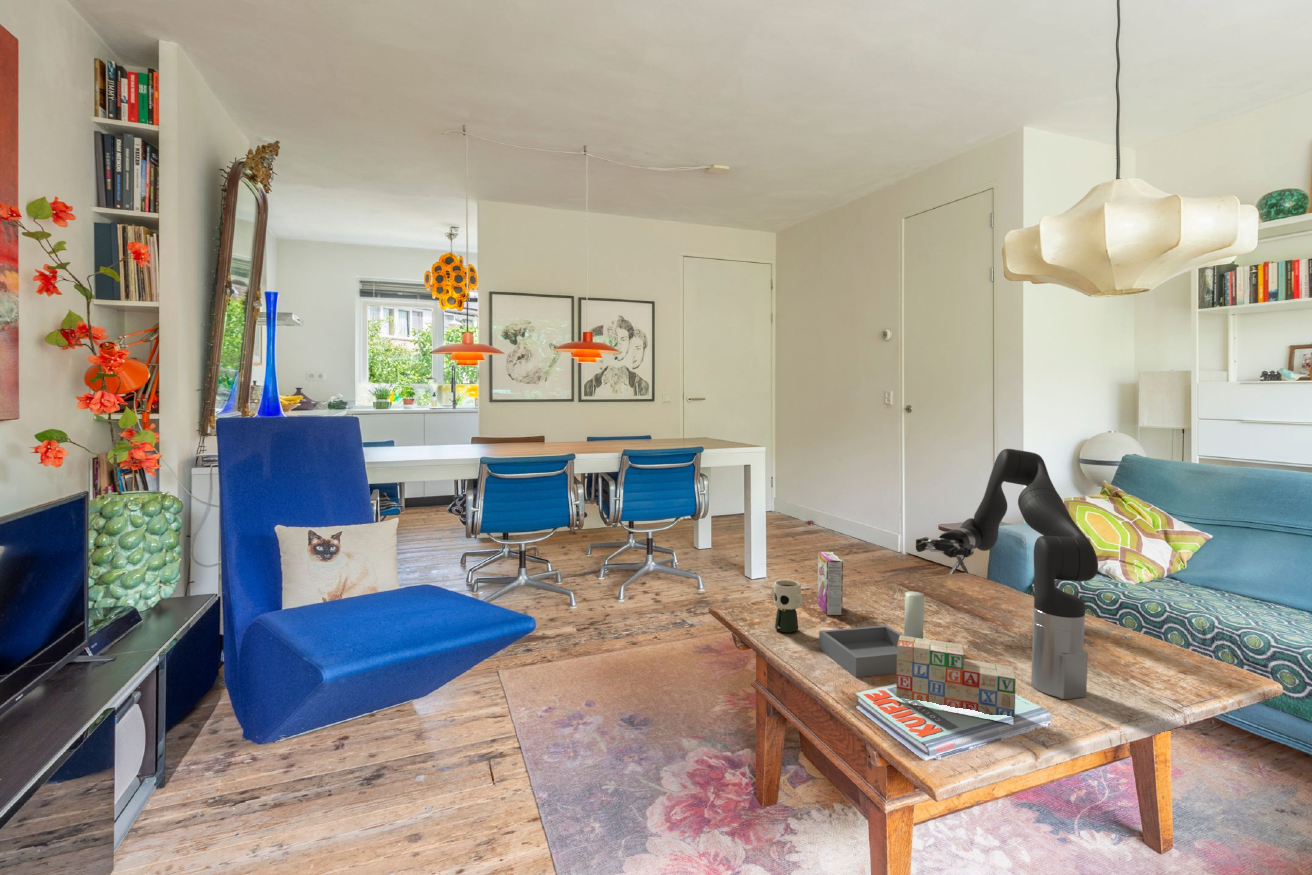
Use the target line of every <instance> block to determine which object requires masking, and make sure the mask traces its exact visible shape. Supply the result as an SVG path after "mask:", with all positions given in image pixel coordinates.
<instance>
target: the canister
mask: <svg viewBox="0 0 1312 875" xmlns="http://www.w3.org/2000/svg"><path fill="white" fill-rule="evenodd" d="M924 617H925V594H924V593H922V592H920V591H919V592H918V591H912V590H911V591H910V590H909V591H906V592H905V593H904V622H903V623H904V626H903V627H904V628H903V635H904V636H908V637H914V638H920V639H924Z"/></svg>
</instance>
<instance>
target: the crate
mask: <svg viewBox="0 0 1312 875" xmlns="http://www.w3.org/2000/svg"><path fill="white" fill-rule="evenodd" d="M900 635H902V636H904V634H902V633H900V632H899V631H897V630H895V629H893V628H892V627H890V626H888V624H887V625H886V624H885V625H873V626H864V627H863V626H862V627H852V628H849V627H848V628H838V629H829V630H828V629H825V630H819V634H818V636H819V637H818V649H819V650H820V651H822V652H823V653H824V654H825V655H826V656H828V657H829V658H830V659H832V660H833V661H834V662H835V663H837V664H838V665H839V666H841V667H842V668H843V669H845V670H846V671H847V672H848V673H849V674H851V675H852V676H853V677H855V678H865V677H873V676H882V675H883V676H884V675H893V674H894V675H895V674H897V645H898V641H899V637H900Z"/></svg>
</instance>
